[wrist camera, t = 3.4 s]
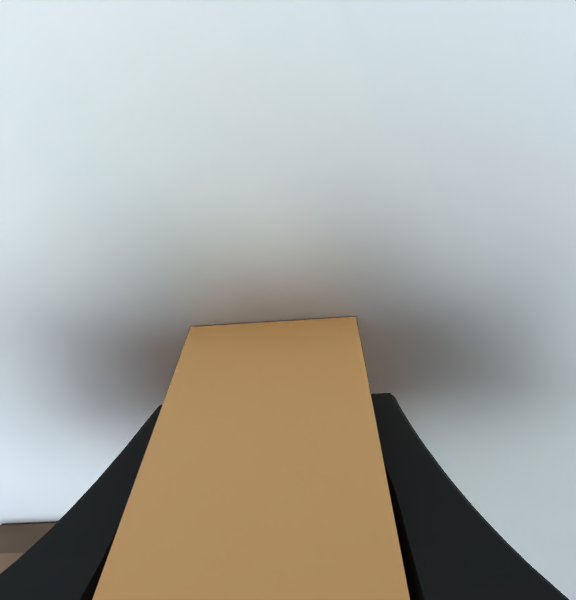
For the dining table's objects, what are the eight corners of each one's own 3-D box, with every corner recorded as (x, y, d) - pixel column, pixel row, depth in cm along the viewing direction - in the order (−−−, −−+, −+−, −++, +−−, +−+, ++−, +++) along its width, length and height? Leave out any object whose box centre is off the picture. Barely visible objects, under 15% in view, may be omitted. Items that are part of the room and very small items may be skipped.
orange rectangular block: (355, 316, 12) (416, 632, 6) (358, 439, 14) (405, 774, 8) (190, 327, 12) (76, 640, 6) (216, 446, 14) (151, 775, 8)
